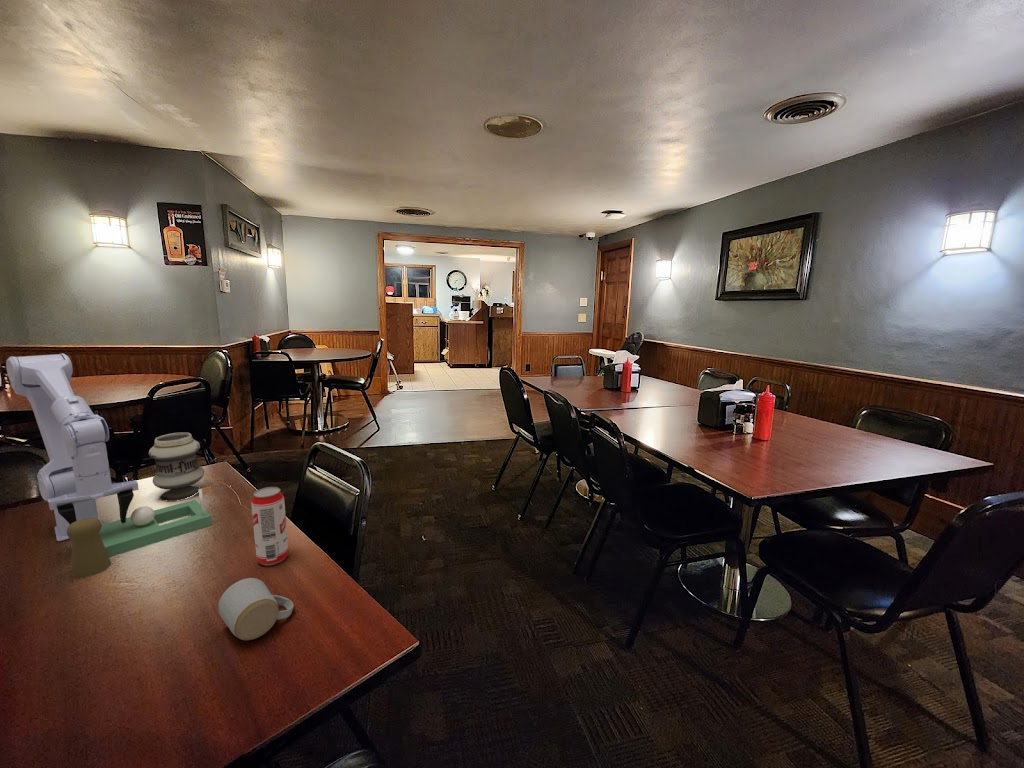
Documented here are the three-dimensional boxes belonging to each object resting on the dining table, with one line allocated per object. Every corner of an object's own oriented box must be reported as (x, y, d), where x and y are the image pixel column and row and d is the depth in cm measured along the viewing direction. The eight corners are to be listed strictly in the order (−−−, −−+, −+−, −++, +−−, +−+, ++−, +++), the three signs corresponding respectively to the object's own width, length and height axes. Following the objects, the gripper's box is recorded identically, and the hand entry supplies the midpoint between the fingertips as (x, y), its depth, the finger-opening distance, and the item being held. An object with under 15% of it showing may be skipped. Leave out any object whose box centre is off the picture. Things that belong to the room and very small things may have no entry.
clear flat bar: (201, 514, 110) (198, 489, 109) (213, 511, 112) (210, 485, 111) (202, 515, 110) (198, 489, 108) (214, 512, 112) (211, 486, 110)
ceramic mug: (236, 653, 70) (232, 610, 69) (219, 628, 75) (215, 588, 74) (302, 619, 78) (300, 580, 77) (282, 599, 83) (280, 562, 82)
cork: (86, 579, 88) (77, 529, 86) (63, 575, 89) (54, 526, 87) (118, 562, 94) (110, 515, 92) (96, 558, 95) (88, 512, 93)
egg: (124, 514, 104) (144, 500, 106) (138, 526, 106) (157, 512, 108) (126, 519, 101) (146, 505, 103) (141, 532, 103) (160, 517, 105)
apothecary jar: (143, 501, 122) (135, 440, 119) (182, 484, 134) (175, 429, 131) (180, 505, 120) (172, 443, 117) (216, 487, 132) (209, 431, 129)
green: (91, 537, 103) (89, 527, 103) (196, 507, 119) (195, 499, 119) (99, 560, 94) (97, 549, 94) (211, 524, 110) (210, 515, 110)
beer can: (256, 570, 92) (249, 500, 89) (257, 555, 97) (251, 488, 94) (289, 562, 94) (283, 494, 92) (288, 548, 100) (283, 483, 97)
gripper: (45, 486, 88) (56, 547, 91) (137, 467, 99) (145, 522, 102) (43, 477, 93) (54, 535, 95) (131, 460, 104) (139, 512, 106)
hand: (101, 527), depth 99 cm, fingers open, 7 cm apart
